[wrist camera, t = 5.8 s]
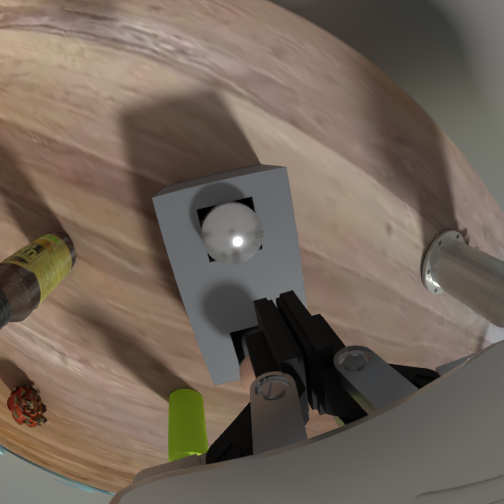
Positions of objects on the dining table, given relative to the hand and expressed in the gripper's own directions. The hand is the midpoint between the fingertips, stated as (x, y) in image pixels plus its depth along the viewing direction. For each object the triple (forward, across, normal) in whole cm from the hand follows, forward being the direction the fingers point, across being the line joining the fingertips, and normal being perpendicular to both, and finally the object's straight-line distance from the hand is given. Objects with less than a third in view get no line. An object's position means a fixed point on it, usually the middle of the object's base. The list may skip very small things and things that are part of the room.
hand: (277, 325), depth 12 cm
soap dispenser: (+25, +14, +29) cm, 41 cm away
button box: (+25, 0, +6) cm, 26 cm away
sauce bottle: (+25, +23, -1) cm, 34 cm away
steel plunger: (+21, 0, 0) cm, 21 cm away
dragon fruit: (+25, +46, +24) cm, 58 cm away
